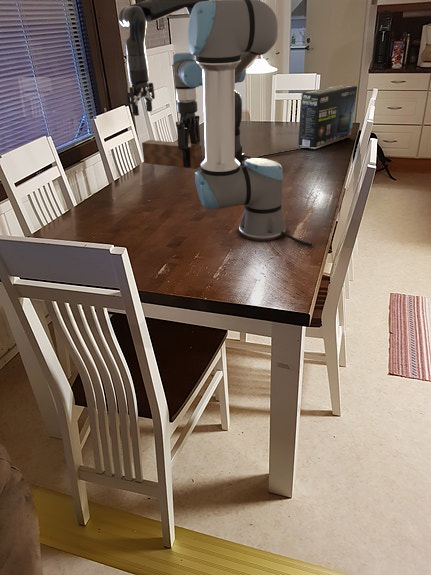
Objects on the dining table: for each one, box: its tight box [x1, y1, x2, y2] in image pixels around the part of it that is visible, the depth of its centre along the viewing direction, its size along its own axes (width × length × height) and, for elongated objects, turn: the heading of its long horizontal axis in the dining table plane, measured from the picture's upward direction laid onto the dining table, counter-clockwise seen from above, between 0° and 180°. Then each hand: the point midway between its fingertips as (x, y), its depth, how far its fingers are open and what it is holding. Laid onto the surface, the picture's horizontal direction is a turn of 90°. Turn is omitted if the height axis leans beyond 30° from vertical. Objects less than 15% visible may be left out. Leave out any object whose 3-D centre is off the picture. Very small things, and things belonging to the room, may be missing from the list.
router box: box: [297, 84, 358, 151], centre depth 238 cm, size 36×11×27 cm, turn 134°
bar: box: [141, 139, 203, 170], centre depth 180 cm, size 24×5×8 cm, turn 62°
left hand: (142, 113), depth 181 cm, fingers open, 8 cm apart
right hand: (190, 164), depth 178 cm, fingers closed on bar, 5 cm apart
